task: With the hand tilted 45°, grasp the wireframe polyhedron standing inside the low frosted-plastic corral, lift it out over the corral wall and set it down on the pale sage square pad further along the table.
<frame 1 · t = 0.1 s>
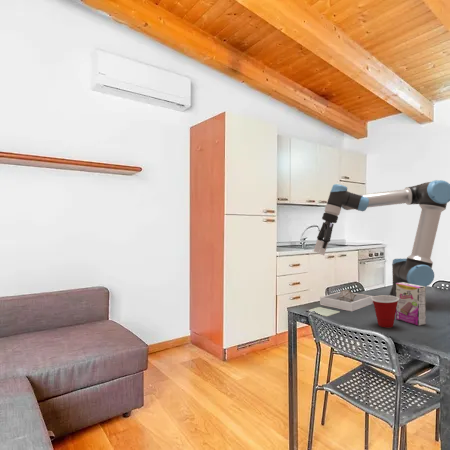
hand: (318, 253, 178), 28 cm above the table, tool tilted 20°, fingers open, 13 cm apart
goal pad: (322, 312, 168), on the table
candy bar box: (410, 322, 151), on the table
plastic cup: (385, 326, 146), on the table
wireframe polyhedron: (346, 304, 183), on the table
corral: (346, 304, 183), on the table
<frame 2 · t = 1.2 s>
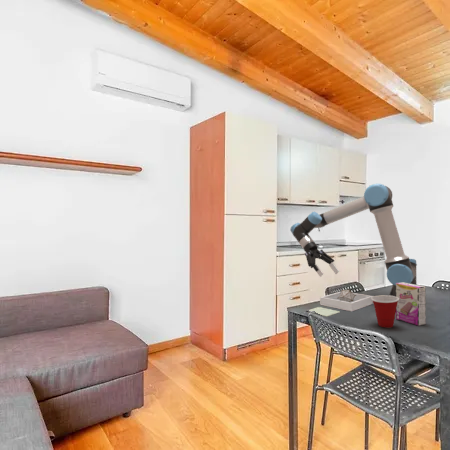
hand: (329, 274, 191), 15 cm above the table, tool tilted 45°, fingers open, 13 cm apart
nothing on the table moved.
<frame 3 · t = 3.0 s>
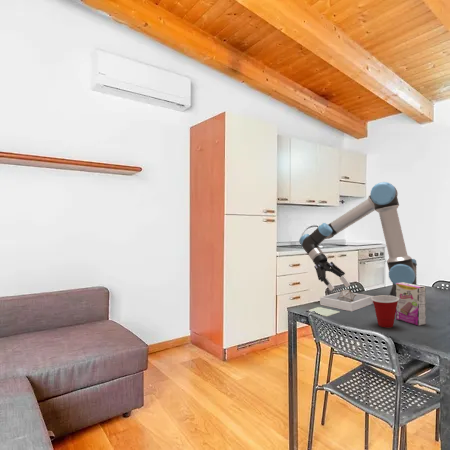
hand: (340, 287, 185), 8 cm above the table, tool tilted 45°, fingers open, 13 cm apart
nothing on the table moved.
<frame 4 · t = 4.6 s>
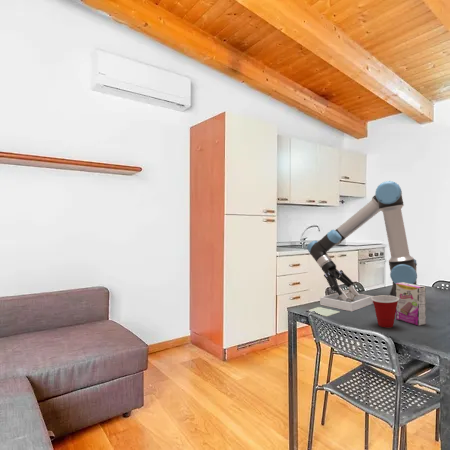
hand: (351, 298, 180), 4 cm above the table, tool tilted 45°, fingers open, 9 cm apart
wireframe polyhedron: (346, 304, 183), on the table, touching gripper
everything else where it was.
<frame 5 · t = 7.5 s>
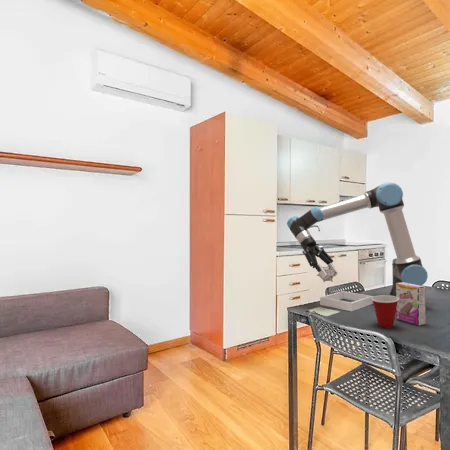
hand: (330, 275, 170), 17 cm above the table, tool tilted 45°, fingers closed on wireframe polyhedron, 8 cm apart
wireframe polyhedron: (326, 282, 173), point 14 cm above the table, touching gripper
everything else where it was.
when the fingers open (5 cm above the table, at t = 10.2 s): wireframe polyhedron stays where it is, resting on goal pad.
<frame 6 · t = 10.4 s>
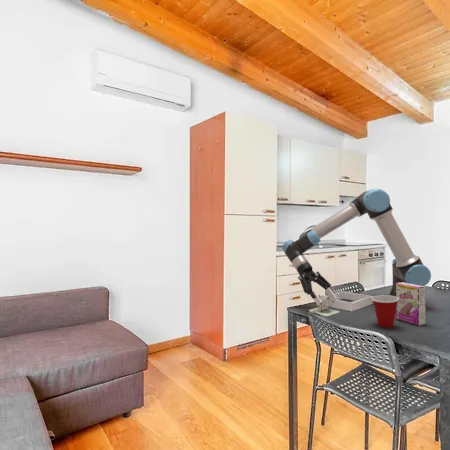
hand: (327, 301, 166), 6 cm above the table, tool tilted 45°, fingers open, 10 cm apart
wireframe polyhedron: (323, 311, 169), resting on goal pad
everything else where it was.
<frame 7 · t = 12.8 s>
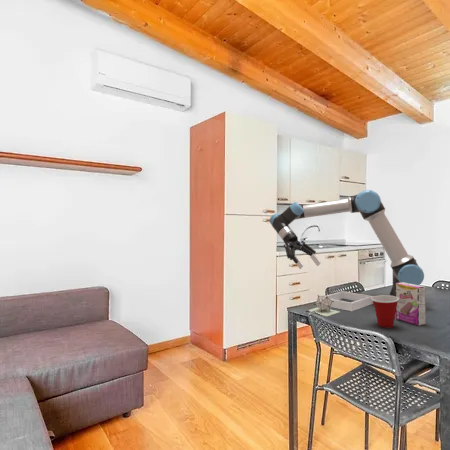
hand: (310, 265, 179), 21 cm above the table, tool tilted 45°, fingers open, 13 cm apart
nothing on the table moved.
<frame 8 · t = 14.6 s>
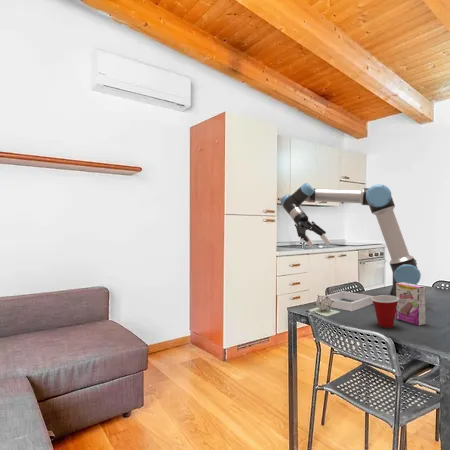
hand: (320, 244, 182), 32 cm above the table, tool tilted 45°, fingers open, 13 cm apart
nothing on the table moved.
at the end: wireframe polyhedron inside the target area (0.8 cm from its centre), resting on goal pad; wireframe polyhedron tilted 0°; the gripper is holding nothing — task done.
